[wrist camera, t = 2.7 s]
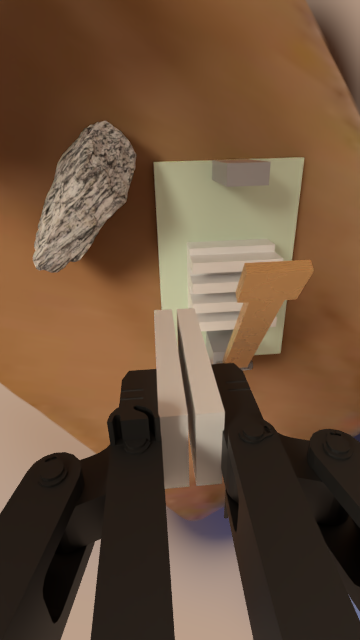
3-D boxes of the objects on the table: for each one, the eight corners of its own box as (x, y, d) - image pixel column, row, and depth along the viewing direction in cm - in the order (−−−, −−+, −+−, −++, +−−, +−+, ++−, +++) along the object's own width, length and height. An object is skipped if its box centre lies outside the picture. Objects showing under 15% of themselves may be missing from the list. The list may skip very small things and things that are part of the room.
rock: (60, 269, 43) (52, 291, 34) (2, 218, 39) (-24, 227, 30) (150, 178, 42) (167, 175, 33) (99, 117, 38) (102, 96, 29)
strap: (251, 361, 44) (253, 370, 43) (213, 363, 44) (214, 372, 43) (310, 258, 26) (314, 271, 25) (244, 261, 25) (247, 275, 25)
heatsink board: (164, 357, 50) (167, 397, 42) (153, 161, 39) (155, 165, 31) (278, 349, 51) (302, 387, 43) (301, 157, 40) (339, 159, 32)
